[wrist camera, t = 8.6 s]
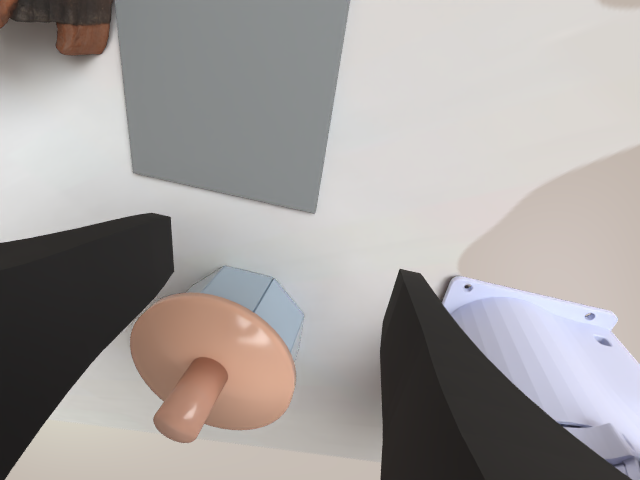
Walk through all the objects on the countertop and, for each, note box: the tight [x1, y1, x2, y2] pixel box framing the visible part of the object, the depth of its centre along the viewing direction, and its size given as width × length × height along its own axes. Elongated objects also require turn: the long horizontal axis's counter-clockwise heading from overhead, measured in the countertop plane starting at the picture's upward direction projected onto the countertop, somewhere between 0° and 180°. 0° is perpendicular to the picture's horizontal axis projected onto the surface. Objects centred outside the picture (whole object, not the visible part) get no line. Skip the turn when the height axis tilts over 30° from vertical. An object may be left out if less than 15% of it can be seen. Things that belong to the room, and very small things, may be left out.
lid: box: [130, 292, 296, 443], centre depth 19 cm, size 10×10×4 cm
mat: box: [115, 0, 350, 213], centre depth 18 cm, size 12×12×1 cm
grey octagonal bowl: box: [186, 266, 304, 362], centre depth 23 cm, size 9×9×5 cm
